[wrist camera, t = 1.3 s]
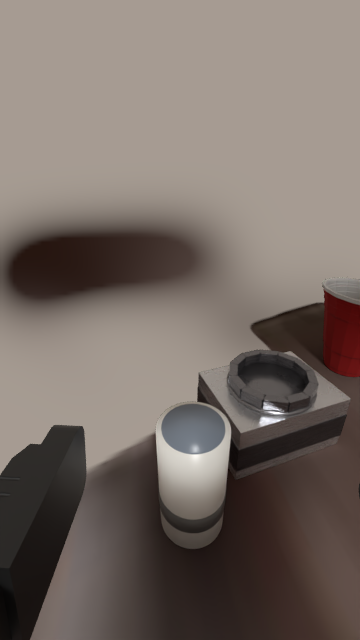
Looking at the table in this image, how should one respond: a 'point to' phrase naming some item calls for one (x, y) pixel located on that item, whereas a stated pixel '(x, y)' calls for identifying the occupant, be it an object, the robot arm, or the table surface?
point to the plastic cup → (342, 326)
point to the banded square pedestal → (273, 408)
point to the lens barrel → (192, 472)
